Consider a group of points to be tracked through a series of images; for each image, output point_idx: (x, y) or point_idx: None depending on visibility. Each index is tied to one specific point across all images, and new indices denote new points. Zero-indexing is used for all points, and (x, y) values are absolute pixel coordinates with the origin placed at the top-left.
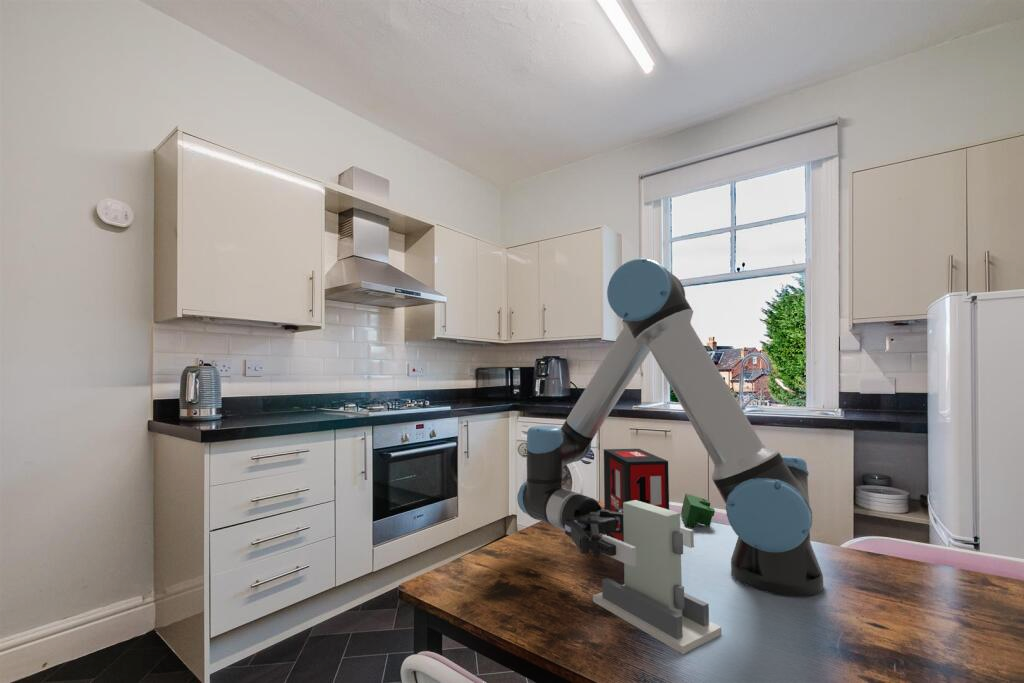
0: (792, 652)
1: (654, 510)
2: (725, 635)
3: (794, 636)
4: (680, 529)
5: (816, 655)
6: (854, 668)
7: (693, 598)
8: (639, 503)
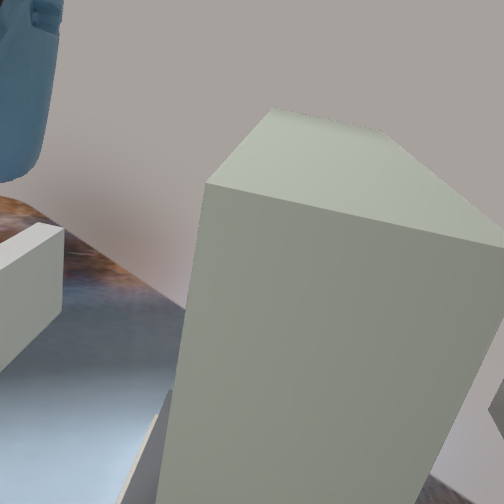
0: (131, 328)
1: (365, 140)
2: (150, 421)
3: (55, 328)
4: (25, 264)
5: (115, 306)
6: (122, 279)
7: (164, 429)
8: (318, 167)
